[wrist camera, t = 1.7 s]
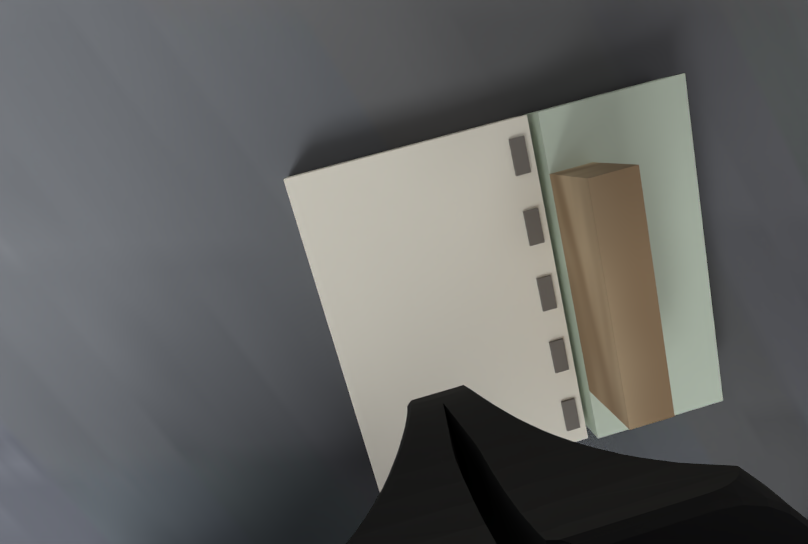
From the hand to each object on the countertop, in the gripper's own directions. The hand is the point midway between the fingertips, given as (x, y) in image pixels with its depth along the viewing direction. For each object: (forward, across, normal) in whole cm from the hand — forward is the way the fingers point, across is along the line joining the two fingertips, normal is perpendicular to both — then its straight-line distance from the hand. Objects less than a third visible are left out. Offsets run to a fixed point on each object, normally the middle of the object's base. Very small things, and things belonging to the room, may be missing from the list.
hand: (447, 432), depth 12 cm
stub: (+8, -8, 0) cm, 12 cm away
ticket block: (+8, -2, 0) cm, 8 cm away
